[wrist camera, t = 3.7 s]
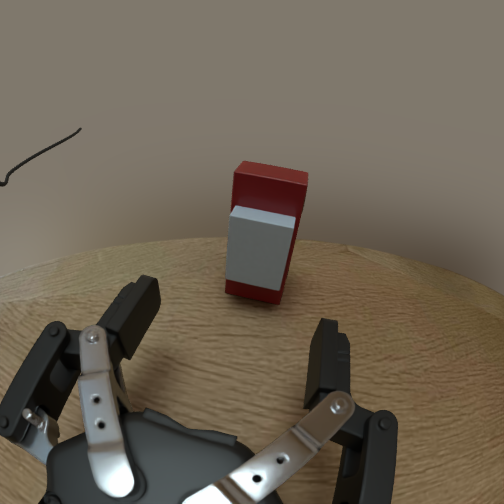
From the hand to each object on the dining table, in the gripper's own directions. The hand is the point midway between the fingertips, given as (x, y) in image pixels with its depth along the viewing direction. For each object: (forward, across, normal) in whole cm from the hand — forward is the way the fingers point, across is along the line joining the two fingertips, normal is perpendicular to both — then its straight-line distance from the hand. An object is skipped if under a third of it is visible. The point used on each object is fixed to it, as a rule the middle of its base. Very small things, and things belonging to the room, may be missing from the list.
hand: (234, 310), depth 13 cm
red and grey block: (+8, 0, +6) cm, 10 cm away
